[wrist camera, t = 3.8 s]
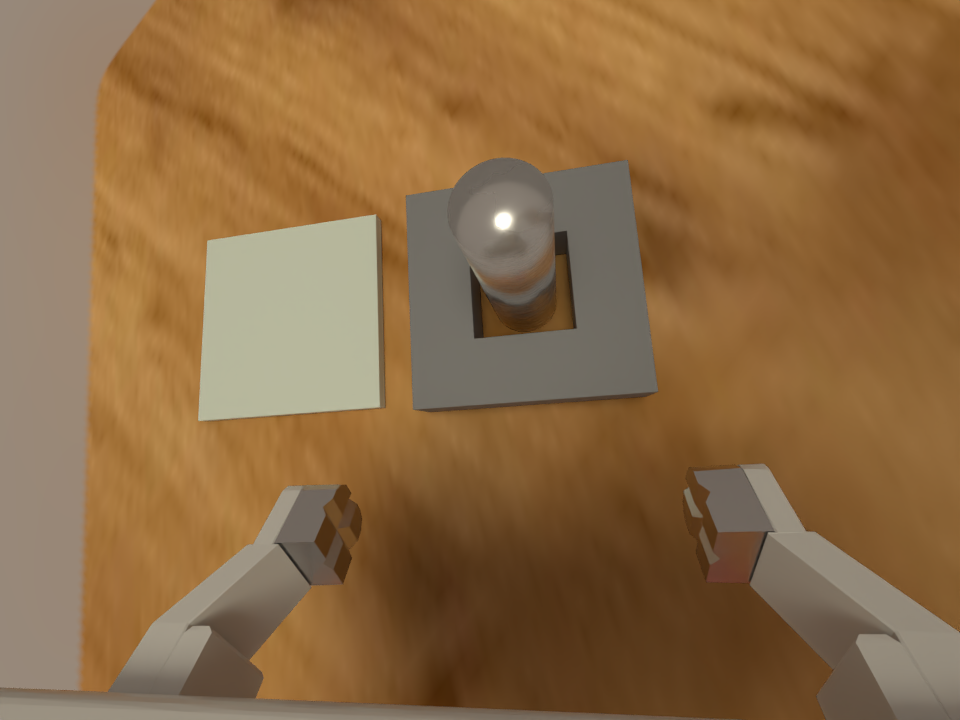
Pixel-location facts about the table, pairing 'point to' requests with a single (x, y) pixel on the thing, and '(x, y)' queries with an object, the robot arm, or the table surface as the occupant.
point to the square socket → (543, 355)
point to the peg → (508, 238)
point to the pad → (294, 322)
